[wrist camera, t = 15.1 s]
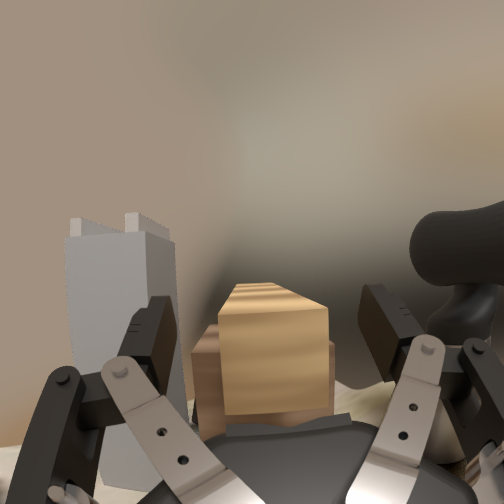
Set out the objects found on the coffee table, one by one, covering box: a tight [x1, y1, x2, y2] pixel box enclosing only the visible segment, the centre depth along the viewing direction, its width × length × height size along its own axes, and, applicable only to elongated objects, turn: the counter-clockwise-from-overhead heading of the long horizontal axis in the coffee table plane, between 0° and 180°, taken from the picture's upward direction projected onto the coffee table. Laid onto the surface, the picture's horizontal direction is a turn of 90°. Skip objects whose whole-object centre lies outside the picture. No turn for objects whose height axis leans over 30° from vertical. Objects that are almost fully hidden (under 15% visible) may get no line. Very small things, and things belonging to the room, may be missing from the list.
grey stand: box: [65, 212, 190, 492], centre depth 38 cm, size 14×10×34 cm
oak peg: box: [218, 283, 329, 415], centre depth 24 cm, size 26×4×4 cm, turn 1°
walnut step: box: [191, 324, 335, 442], centre depth 27 cm, size 12×10×22 cm
